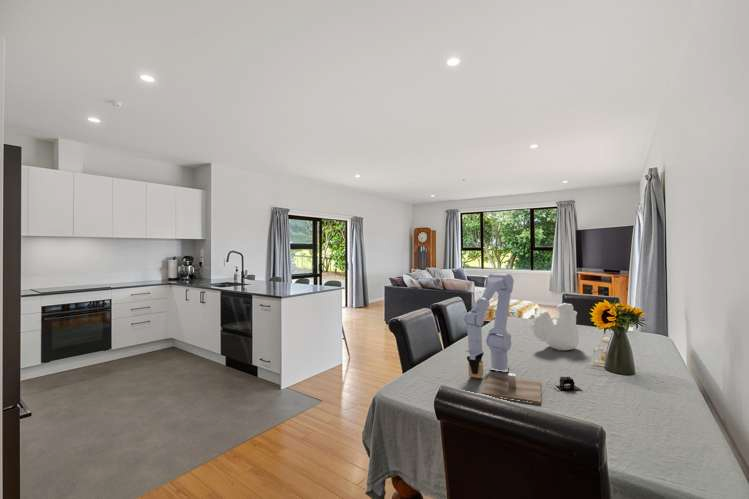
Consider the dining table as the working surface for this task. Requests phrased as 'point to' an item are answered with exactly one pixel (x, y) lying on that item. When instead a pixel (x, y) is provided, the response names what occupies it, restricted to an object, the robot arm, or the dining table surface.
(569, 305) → the decorative rooster
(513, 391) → the base board
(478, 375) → the tan wooden cube
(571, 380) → the black winged block
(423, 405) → the dining table surface
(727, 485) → the dining table surface
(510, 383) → the post
